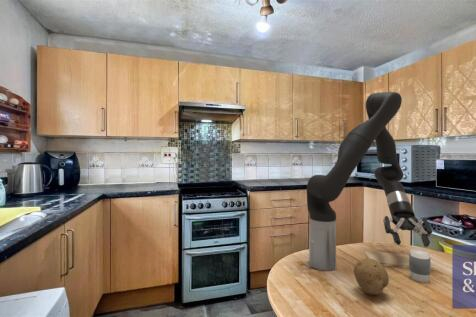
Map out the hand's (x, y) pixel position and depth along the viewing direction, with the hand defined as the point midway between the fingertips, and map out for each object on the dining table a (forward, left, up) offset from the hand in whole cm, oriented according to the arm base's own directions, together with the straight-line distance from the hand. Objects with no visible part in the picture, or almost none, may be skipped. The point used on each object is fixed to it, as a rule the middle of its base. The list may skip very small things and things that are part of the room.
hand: (412, 244), depth 85 cm
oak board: (-2, +9, -9) cm, 13 cm away
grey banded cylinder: (0, -5, -9) cm, 11 cm away
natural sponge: (-18, -18, -10) cm, 27 cm away
